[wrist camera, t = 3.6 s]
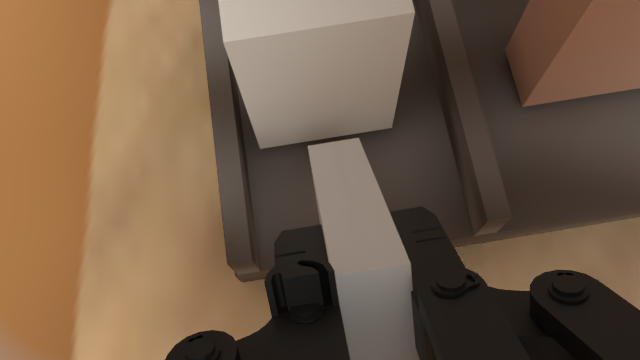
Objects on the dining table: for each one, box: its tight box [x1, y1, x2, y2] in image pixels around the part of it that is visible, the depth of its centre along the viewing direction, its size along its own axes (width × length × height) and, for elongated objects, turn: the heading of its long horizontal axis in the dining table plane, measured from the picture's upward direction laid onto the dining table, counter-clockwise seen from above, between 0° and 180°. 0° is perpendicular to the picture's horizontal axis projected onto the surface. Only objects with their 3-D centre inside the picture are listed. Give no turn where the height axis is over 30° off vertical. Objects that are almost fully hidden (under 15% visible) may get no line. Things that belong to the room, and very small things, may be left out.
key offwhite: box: [218, 0, 415, 149], centre depth 19 cm, size 2×5×7 cm, turn 99°
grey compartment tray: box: [199, 0, 640, 282], centre depth 22 cm, size 12×28×4 cm, turn 99°
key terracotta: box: [505, 0, 640, 107], centre depth 19 cm, size 2×5×7 cm, turn 99°
